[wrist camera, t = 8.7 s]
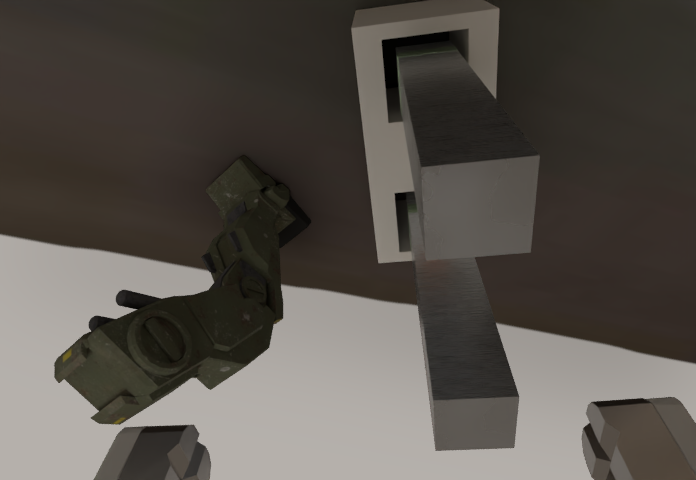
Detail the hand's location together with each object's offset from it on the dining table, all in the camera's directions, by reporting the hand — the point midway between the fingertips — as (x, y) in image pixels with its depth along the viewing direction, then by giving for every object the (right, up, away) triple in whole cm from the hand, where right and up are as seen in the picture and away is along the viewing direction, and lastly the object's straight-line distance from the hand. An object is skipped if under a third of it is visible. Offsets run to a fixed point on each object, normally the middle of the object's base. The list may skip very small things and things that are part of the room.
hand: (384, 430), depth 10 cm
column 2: (+7, +7, +32) cm, 33 cm away
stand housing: (+6, +16, +36) cm, 40 cm away
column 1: (+5, +17, +26) cm, 32 cm away
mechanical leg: (-11, +9, +42) cm, 44 cm away
